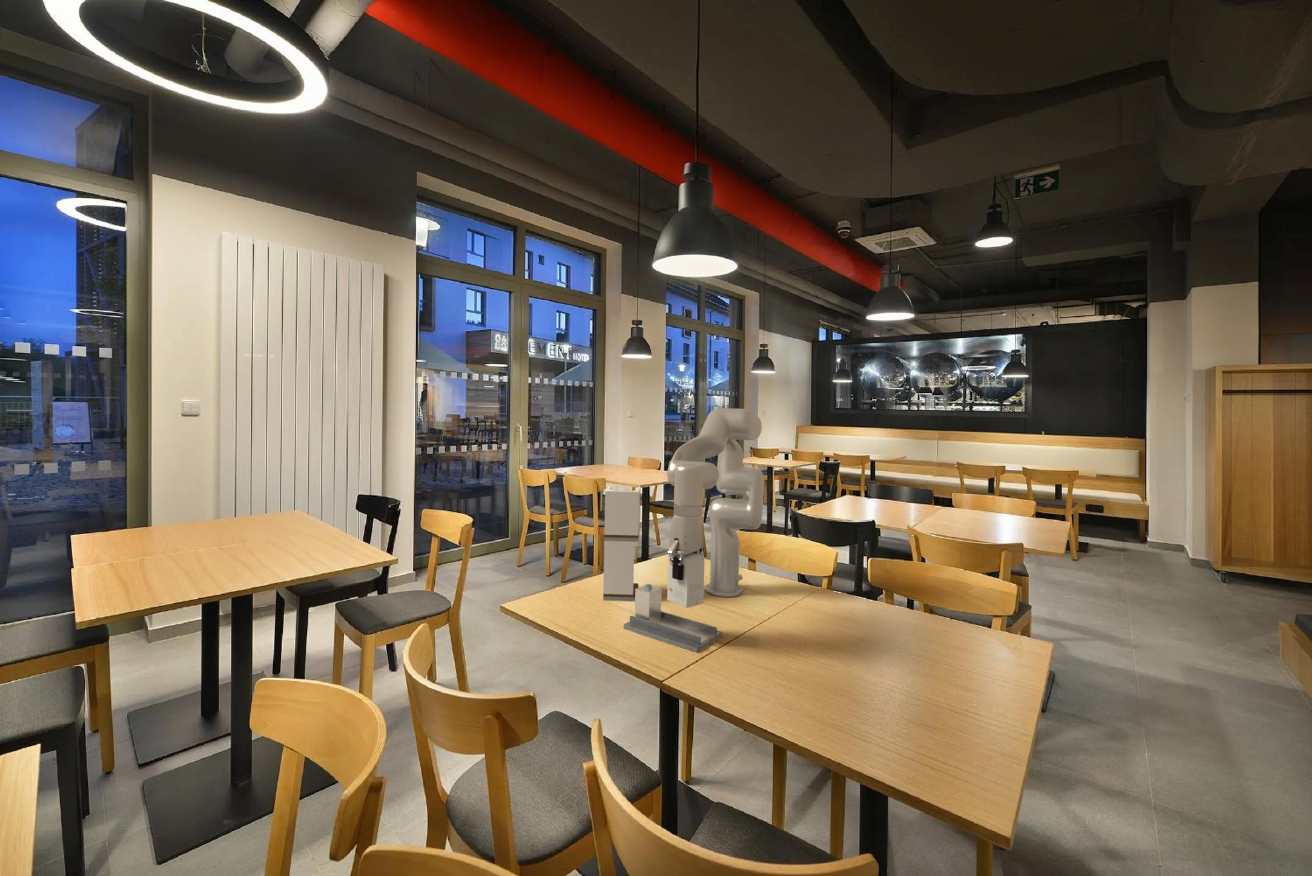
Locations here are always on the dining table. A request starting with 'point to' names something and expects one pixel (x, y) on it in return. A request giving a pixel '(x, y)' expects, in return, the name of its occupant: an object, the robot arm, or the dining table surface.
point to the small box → (687, 582)
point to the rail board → (668, 623)
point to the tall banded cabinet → (620, 543)
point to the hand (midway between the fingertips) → (685, 575)
